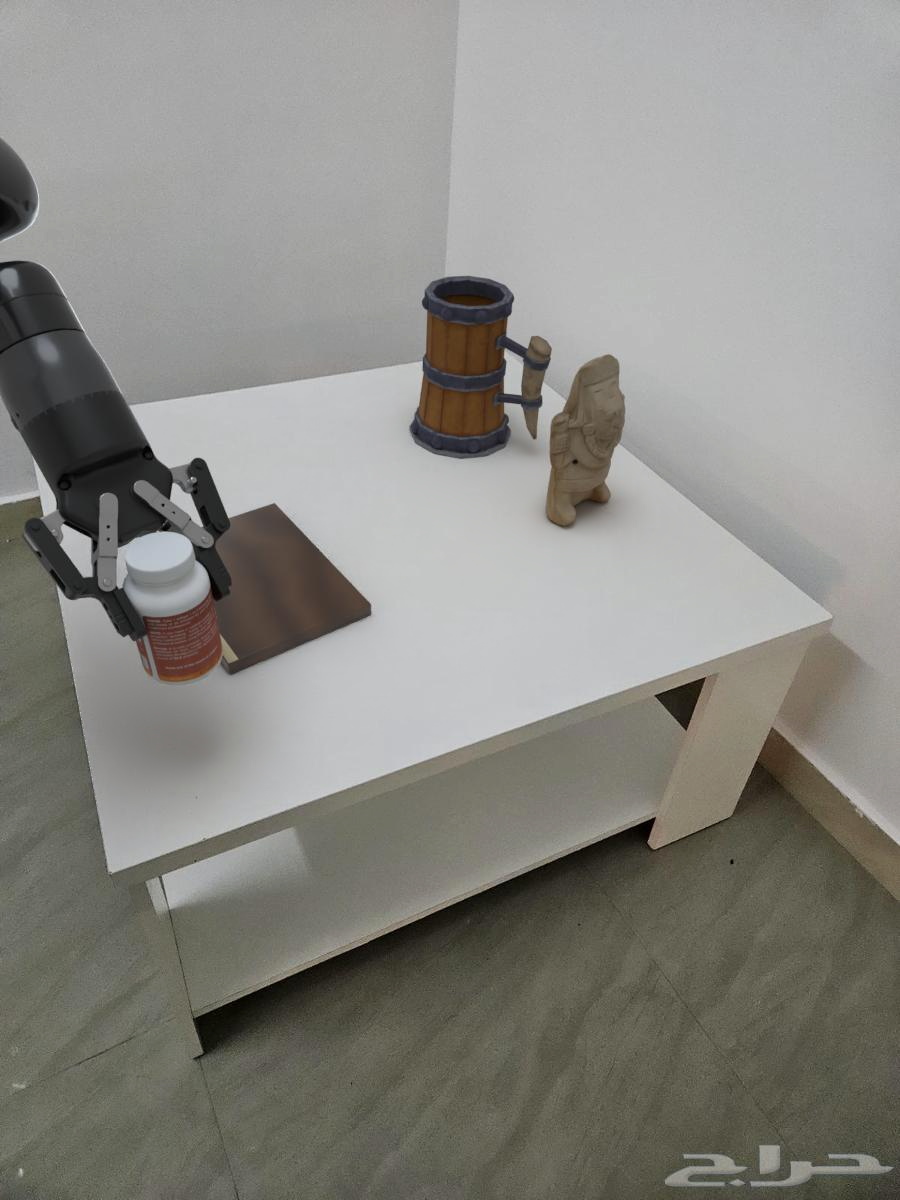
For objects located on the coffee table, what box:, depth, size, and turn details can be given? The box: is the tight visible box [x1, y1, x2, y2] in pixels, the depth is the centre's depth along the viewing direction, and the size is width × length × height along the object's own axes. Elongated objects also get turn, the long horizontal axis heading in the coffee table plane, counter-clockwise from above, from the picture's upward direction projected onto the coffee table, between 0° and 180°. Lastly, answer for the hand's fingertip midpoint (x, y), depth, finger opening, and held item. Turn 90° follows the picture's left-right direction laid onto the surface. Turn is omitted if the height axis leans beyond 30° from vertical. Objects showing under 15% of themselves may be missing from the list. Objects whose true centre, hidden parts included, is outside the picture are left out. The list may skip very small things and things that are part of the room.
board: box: [200, 502, 372, 675], centre depth 88 cm, size 16×22×2 cm
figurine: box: [545, 353, 626, 527], centre depth 96 cm, size 13×7×20 cm, turn 131°
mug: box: [408, 275, 553, 459], centre depth 109 cm, size 19×14×20 cm
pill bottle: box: [121, 531, 223, 686], centre depth 61 cm, size 6×6×11 cm
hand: (183, 616), depth 60 cm, fingers closed on pill bottle, 6 cm apart
